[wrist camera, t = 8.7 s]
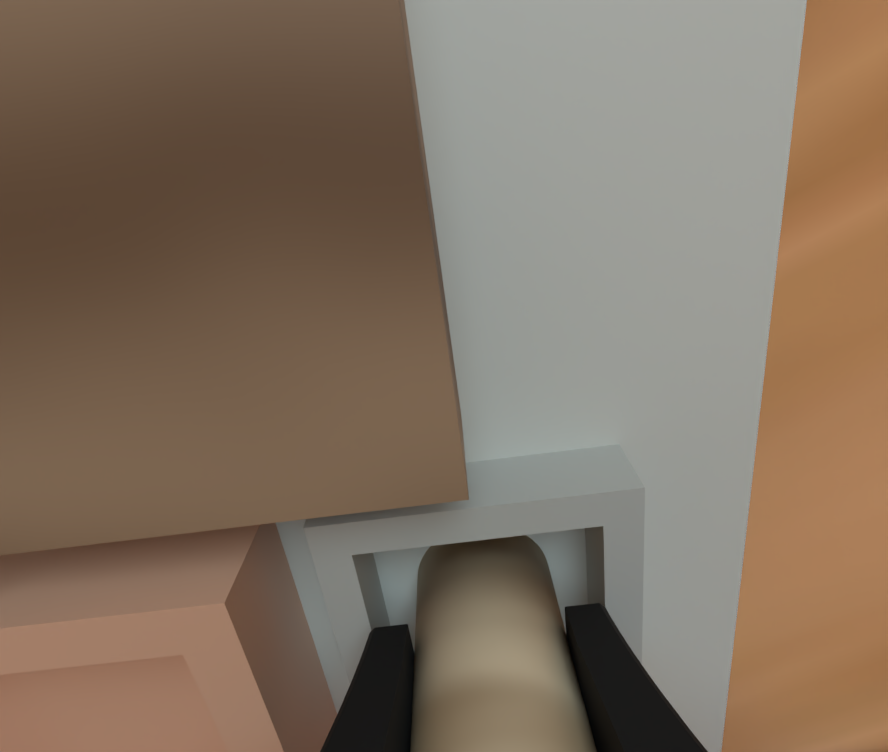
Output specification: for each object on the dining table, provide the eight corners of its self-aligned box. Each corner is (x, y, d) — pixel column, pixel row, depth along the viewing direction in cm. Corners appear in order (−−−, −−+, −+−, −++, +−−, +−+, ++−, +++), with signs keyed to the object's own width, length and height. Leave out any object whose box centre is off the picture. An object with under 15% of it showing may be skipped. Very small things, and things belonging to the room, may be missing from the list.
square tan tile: (461, 416, 10) (469, 500, 8) (45, 468, 10) (-66, 562, 8) (384, -143, 7) (358, -282, 5) (-215, -40, 7) (-521, -122, 5)
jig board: (704, 748, 15) (812, 995, 11) (24, 815, 16) (-130, 1068, 12) (802, -298, 7) (1450, -1061, 2) (-632, -45, 8) (-2040, -282, 3)
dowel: (552, 617, 12) (682, 1157, 6) (427, 630, 12) (418, 1175, 6) (544, 516, 11) (696, 1050, 5) (407, 532, 11) (369, 1074, 5)
